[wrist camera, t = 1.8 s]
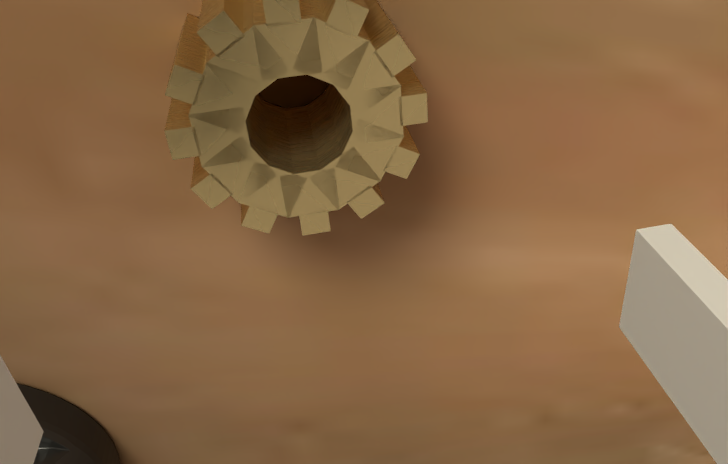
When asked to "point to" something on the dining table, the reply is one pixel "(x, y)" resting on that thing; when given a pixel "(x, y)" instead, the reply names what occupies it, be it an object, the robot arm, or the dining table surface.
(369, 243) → the dining table surface
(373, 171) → the brass gear
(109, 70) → the dining table surface
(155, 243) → the dining table surface
